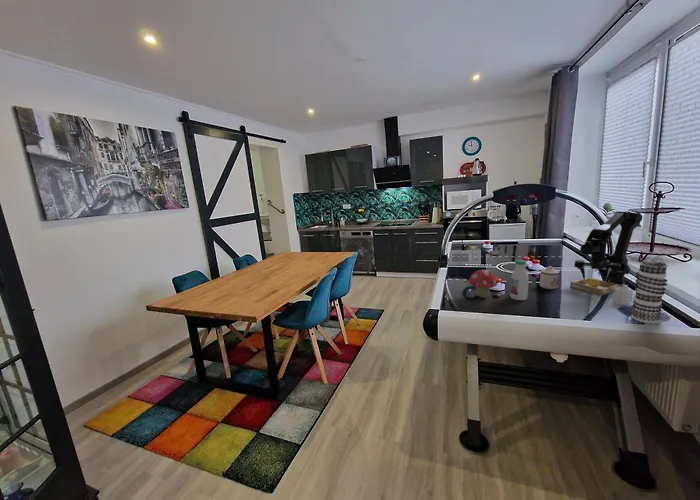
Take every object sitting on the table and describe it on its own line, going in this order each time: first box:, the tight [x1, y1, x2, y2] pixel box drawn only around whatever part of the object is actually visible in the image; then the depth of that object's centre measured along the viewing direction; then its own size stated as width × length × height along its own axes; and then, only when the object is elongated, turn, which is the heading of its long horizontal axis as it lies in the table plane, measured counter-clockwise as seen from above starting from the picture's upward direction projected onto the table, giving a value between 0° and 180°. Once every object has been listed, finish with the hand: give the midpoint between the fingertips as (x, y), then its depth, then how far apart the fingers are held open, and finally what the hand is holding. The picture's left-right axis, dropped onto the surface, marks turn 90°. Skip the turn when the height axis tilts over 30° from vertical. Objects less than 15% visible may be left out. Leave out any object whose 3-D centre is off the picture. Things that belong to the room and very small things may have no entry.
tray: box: [569, 277, 622, 296], centre depth 158 cm, size 15×15×3 cm
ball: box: [588, 277, 600, 287], centre depth 158 cm, size 5×5×5 cm
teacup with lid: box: [539, 265, 560, 290], centre depth 165 cm, size 12×9×12 cm
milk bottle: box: [509, 259, 529, 301], centre depth 151 cm, size 8×8×20 cm
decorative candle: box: [630, 258, 669, 324], centre depth 120 cm, size 9×9×25 cm
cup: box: [612, 286, 631, 306], centre depth 138 cm, size 5×5×7 cm
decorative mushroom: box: [468, 269, 498, 299], centre depth 155 cm, size 13×13×15 cm
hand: (595, 280), depth 158 cm, fingers open, 9 cm apart
